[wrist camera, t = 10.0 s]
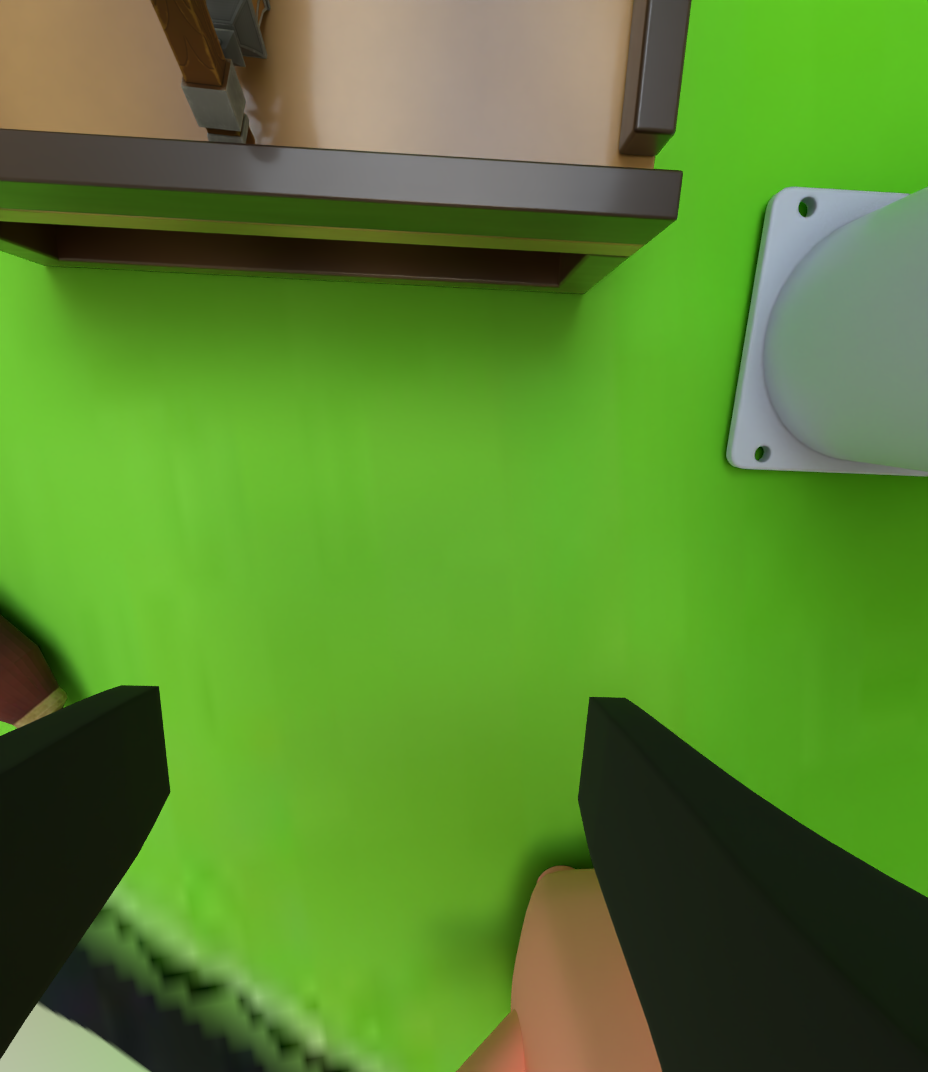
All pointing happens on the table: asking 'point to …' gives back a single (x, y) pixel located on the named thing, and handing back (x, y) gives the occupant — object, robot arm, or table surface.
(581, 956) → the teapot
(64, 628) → the table surface
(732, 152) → the table surface
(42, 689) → the gavel
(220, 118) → the wooden post with brackets
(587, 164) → the shallow wooden tray
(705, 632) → the table surface
